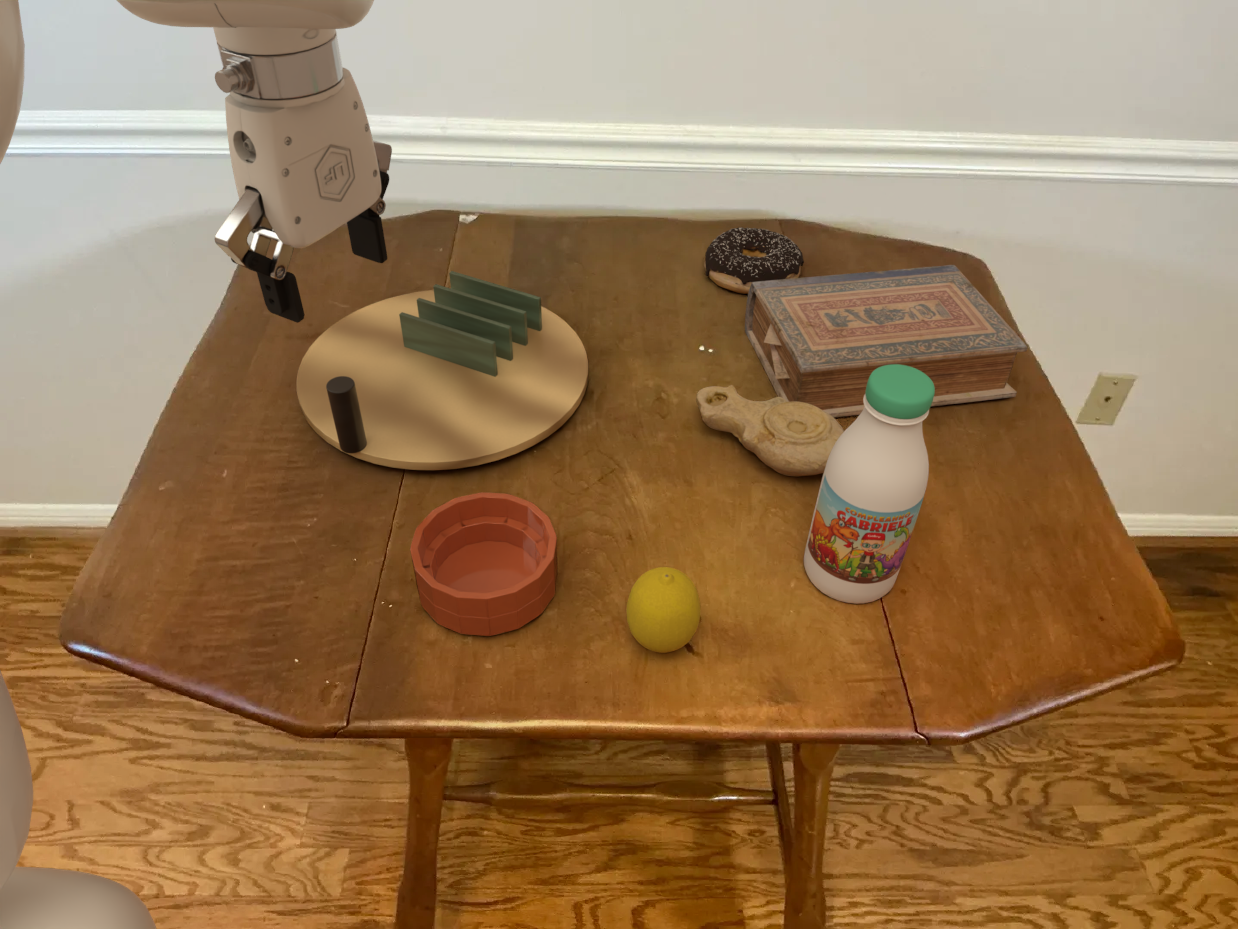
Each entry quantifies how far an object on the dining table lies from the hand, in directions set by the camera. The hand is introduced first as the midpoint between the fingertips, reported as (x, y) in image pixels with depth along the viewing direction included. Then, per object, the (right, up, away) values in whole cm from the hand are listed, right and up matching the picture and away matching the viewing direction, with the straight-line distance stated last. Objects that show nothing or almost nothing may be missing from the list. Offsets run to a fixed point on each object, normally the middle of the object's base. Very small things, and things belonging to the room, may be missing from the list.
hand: (330, 285), depth 74 cm
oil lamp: (+37, -13, +16) cm, 42 cm away
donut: (+39, +9, +40) cm, 56 cm away
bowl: (+12, -24, +3) cm, 27 cm away
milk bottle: (+42, -23, +5) cm, 48 cm away
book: (+49, -3, +27) cm, 56 cm away
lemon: (+26, -28, -1) cm, 38 cm away
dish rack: (+5, -5, +21) cm, 23 cm away
